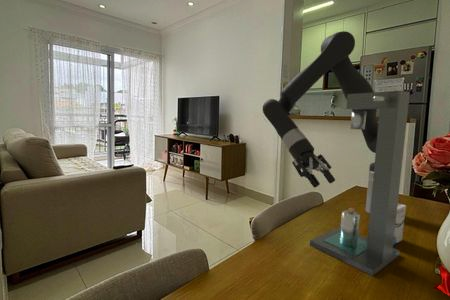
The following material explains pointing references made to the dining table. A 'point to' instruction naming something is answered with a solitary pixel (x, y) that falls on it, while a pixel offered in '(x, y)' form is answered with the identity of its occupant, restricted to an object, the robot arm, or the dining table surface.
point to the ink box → (399, 223)
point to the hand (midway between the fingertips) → (325, 184)
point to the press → (376, 183)
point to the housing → (349, 227)
